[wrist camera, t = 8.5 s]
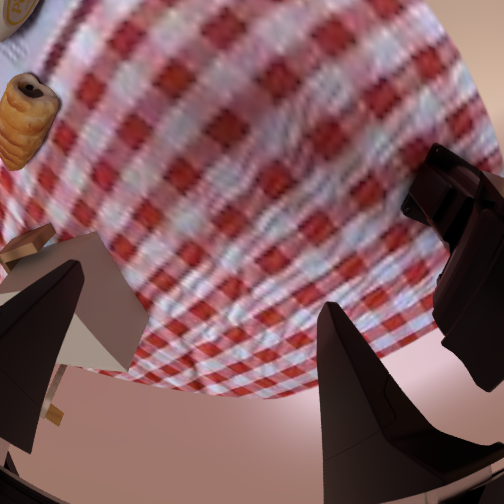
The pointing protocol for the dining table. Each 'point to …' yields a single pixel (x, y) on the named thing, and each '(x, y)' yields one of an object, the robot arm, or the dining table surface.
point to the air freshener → (14, 15)
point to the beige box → (88, 304)
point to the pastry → (24, 119)
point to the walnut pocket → (8, 260)
